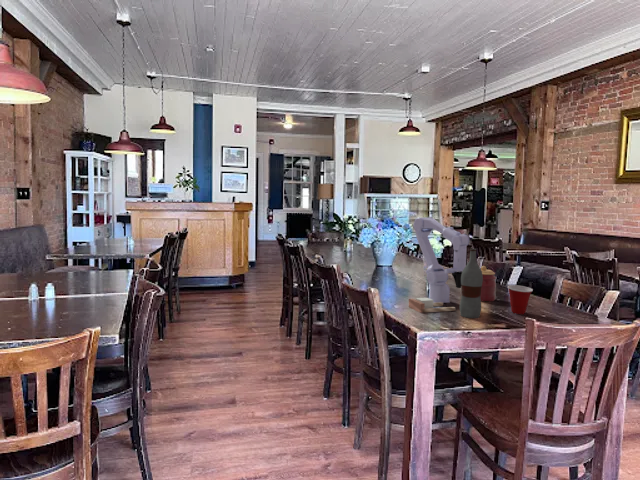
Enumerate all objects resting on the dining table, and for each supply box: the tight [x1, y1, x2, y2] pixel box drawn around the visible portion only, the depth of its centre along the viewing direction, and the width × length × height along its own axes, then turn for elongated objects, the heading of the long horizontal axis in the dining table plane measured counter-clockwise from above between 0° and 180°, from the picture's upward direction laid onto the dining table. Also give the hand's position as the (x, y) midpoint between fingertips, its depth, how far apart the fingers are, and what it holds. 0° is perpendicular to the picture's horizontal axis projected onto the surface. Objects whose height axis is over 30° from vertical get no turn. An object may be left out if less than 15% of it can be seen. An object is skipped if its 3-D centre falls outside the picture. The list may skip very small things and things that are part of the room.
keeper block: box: [415, 297, 434, 309], centre depth 220 cm, size 6×6×5 cm
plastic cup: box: [507, 284, 534, 315], centre depth 216 cm, size 11×11×12 cm
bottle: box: [459, 248, 483, 319], centre depth 208 cm, size 9×9×30 cm
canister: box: [480, 265, 497, 302], centre depth 245 cm, size 13×13×18 cm
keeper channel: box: [408, 298, 456, 314], centre depth 222 cm, size 18×11×4 cm, turn 107°
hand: (458, 287), depth 226 cm, fingers closed
